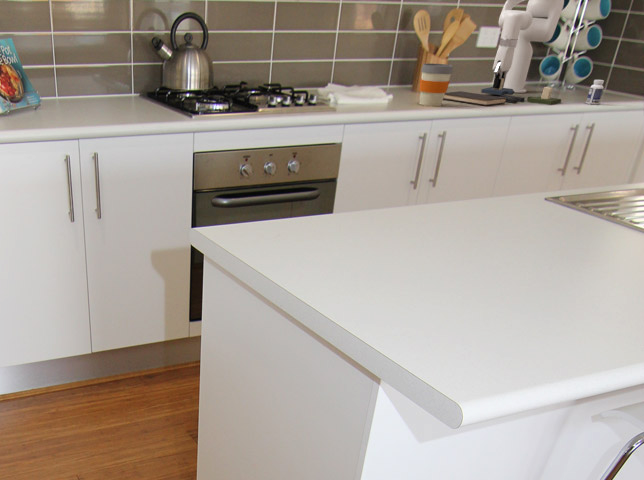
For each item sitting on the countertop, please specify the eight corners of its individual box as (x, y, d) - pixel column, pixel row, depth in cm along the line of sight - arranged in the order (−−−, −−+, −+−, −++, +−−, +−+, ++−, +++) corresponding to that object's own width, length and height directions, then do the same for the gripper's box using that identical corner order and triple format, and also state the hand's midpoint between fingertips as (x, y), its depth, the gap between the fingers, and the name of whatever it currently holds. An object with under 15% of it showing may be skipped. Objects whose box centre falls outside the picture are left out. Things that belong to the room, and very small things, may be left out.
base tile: (503, 98, 335) (503, 95, 334) (524, 101, 329) (525, 97, 328) (491, 100, 327) (492, 96, 326) (512, 103, 321) (513, 99, 321)
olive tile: (533, 99, 337) (537, 84, 333) (560, 102, 329) (564, 88, 326) (522, 101, 329) (526, 86, 326) (550, 104, 322) (554, 89, 319)
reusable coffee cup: (451, 106, 305) (459, 66, 297) (425, 106, 302) (433, 66, 294) (434, 102, 315) (442, 63, 307) (409, 102, 312) (416, 63, 304)
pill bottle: (600, 104, 330) (607, 80, 324) (596, 105, 326) (603, 81, 321) (587, 102, 333) (595, 79, 327) (583, 103, 329) (591, 79, 324)
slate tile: (492, 90, 348) (495, 76, 345) (517, 93, 341) (521, 79, 338) (481, 92, 341) (484, 78, 338) (506, 95, 334) (510, 81, 331)
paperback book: (485, 105, 310) (487, 99, 309) (440, 98, 324) (441, 93, 323) (505, 103, 319) (506, 97, 317) (460, 96, 333) (461, 91, 332)
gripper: (508, 41, 337) (497, 85, 348) (492, 43, 327) (482, 88, 338) (523, 43, 333) (513, 87, 343) (508, 45, 323) (497, 90, 334)
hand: (497, 87), depth 341 cm, fingers closed on slate tile, 3 cm apart
